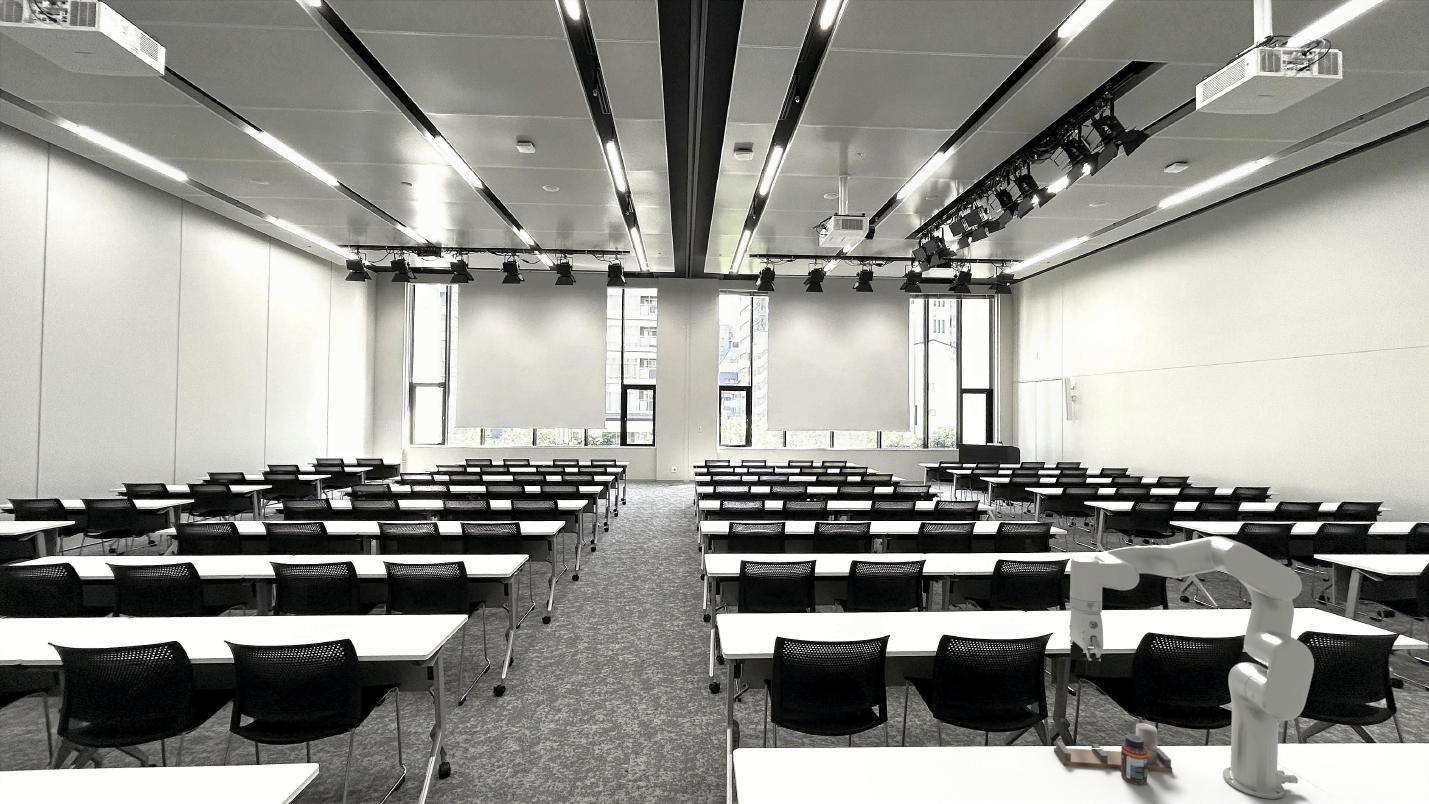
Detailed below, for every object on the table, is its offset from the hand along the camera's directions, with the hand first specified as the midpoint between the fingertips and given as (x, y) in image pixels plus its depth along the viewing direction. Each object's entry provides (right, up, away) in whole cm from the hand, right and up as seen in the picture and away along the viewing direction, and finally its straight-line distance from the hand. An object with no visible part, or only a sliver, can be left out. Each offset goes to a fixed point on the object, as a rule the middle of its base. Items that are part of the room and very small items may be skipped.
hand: (1084, 667), depth 179 cm
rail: (+11, -29, +7) cm, 32 cm away
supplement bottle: (+12, -30, -1) cm, 32 cm away
